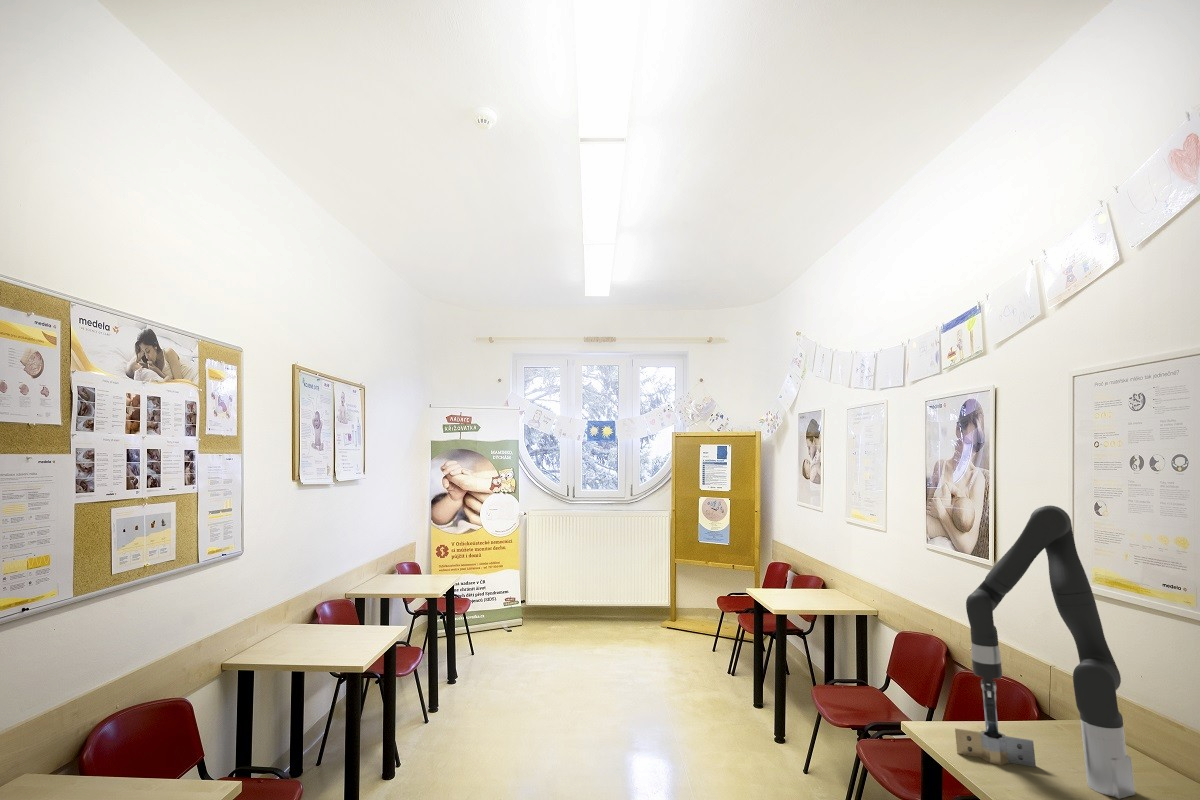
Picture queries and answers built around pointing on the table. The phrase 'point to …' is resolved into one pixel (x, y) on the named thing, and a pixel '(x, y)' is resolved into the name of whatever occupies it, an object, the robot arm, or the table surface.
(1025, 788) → the table surface
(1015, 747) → the hinge
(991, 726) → the pin
